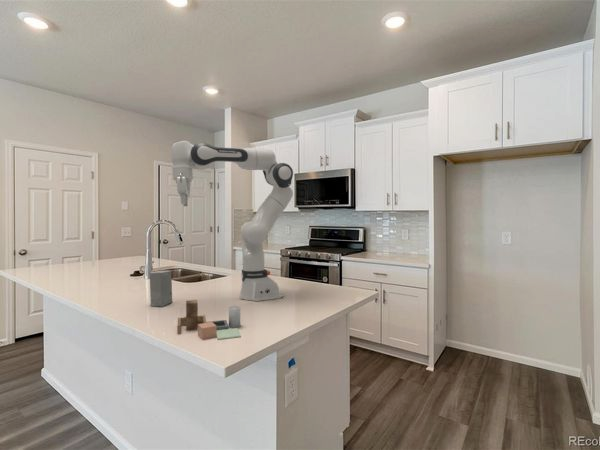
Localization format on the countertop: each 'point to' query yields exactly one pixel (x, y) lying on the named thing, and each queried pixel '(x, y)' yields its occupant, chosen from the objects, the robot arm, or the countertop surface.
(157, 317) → the countertop surface
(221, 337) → the green pad
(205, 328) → the terracotta block
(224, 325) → the hole frame
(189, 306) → the walnut block
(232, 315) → the grey jar
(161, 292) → the skincare box
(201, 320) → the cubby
